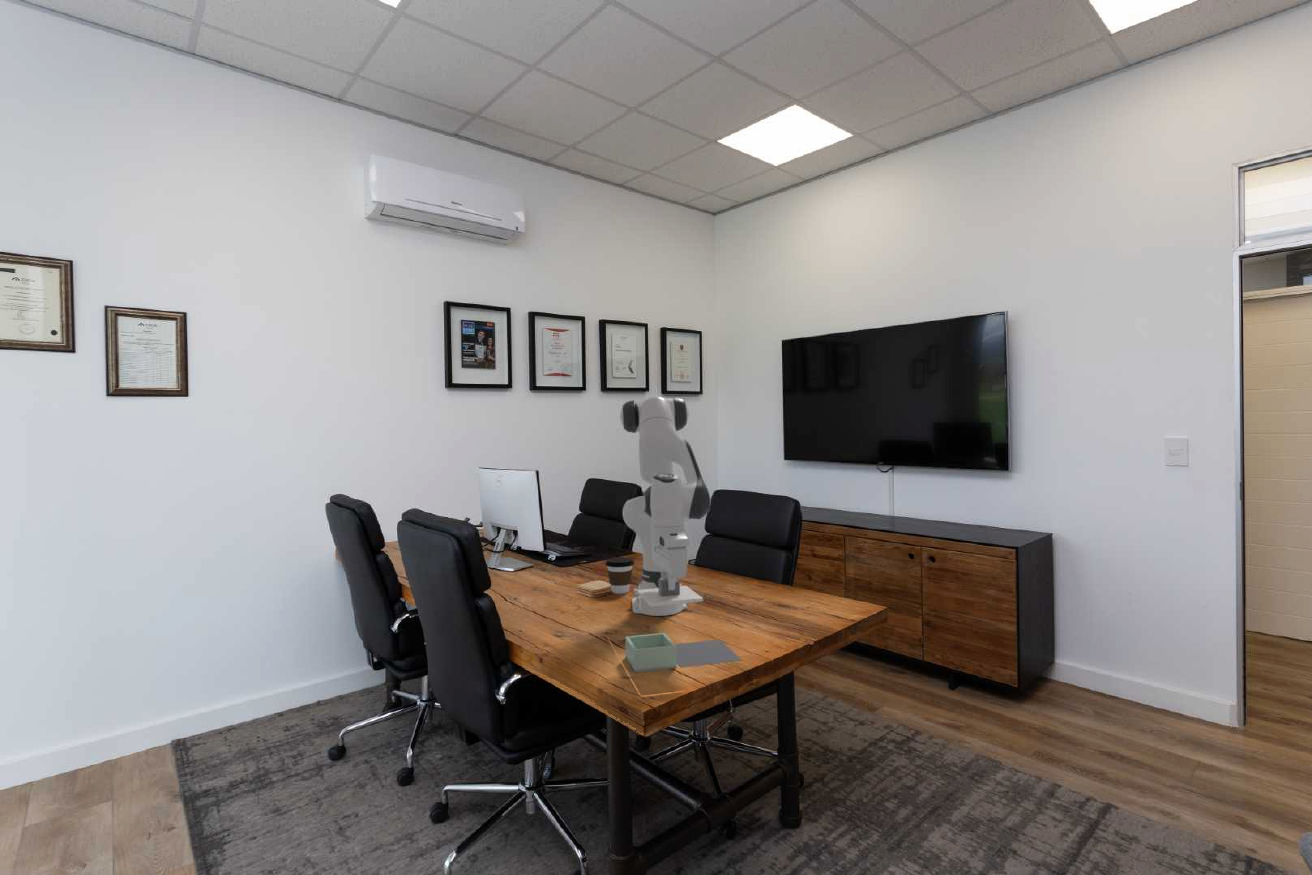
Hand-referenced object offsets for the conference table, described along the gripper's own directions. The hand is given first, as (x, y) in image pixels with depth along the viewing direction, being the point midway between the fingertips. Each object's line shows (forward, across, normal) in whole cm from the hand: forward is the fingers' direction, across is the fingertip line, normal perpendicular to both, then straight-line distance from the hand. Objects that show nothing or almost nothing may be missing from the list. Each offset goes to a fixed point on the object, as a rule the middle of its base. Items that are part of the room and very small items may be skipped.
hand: (668, 587), depth 172 cm
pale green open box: (+20, 0, -6) cm, 20 cm away
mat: (+20, -2, +10) cm, 22 cm away
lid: (+2, 0, 0) cm, 3 cm away
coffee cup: (+19, -73, +3) cm, 76 cm away
